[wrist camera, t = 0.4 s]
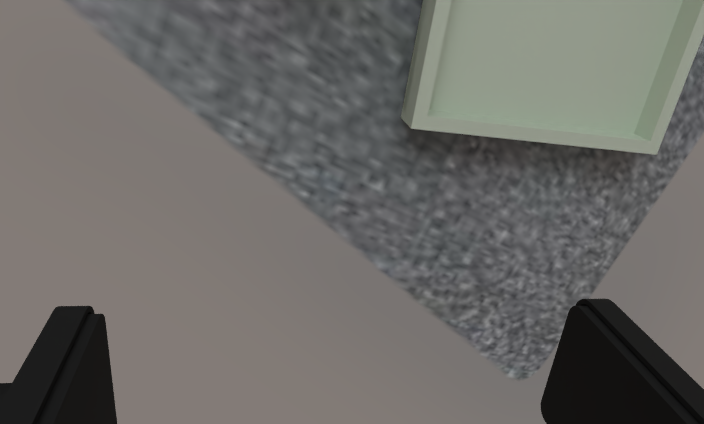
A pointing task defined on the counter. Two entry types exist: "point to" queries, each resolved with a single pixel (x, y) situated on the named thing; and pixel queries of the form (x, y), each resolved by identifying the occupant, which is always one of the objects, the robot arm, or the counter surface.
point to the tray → (553, 69)
